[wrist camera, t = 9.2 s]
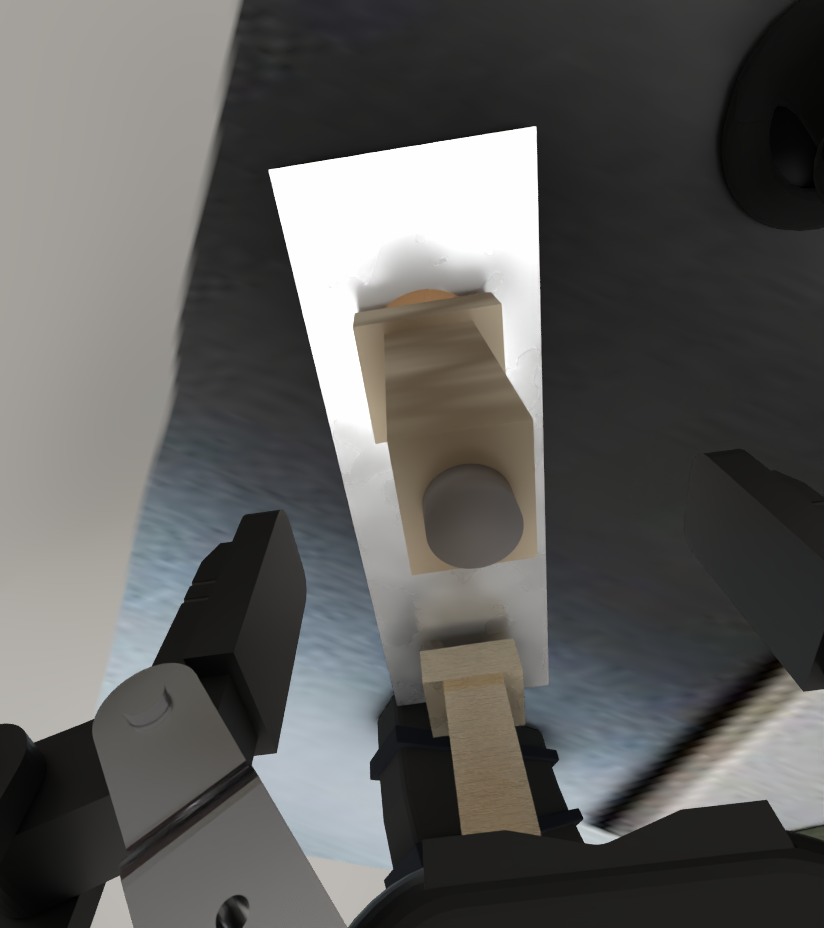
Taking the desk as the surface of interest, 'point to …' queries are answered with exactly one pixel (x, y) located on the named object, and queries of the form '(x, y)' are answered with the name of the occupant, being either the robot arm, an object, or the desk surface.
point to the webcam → (750, 113)
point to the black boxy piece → (447, 786)
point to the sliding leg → (451, 431)
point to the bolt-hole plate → (368, 464)
